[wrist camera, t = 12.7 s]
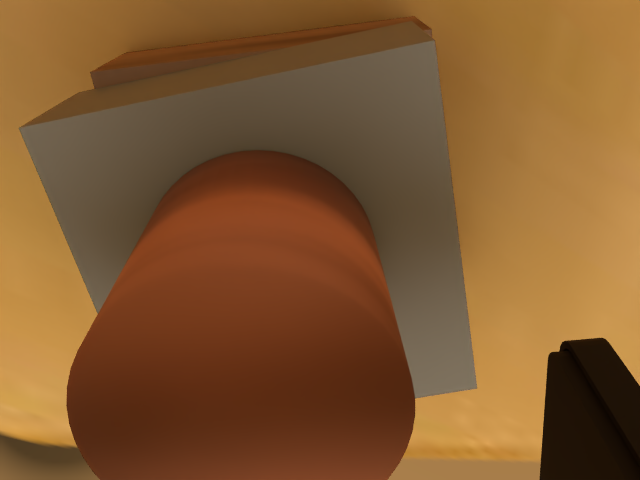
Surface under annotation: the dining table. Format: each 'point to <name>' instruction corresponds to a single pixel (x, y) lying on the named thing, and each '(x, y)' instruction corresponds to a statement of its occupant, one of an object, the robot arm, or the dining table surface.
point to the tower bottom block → (220, 52)
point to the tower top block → (286, 137)
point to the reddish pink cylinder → (246, 337)
